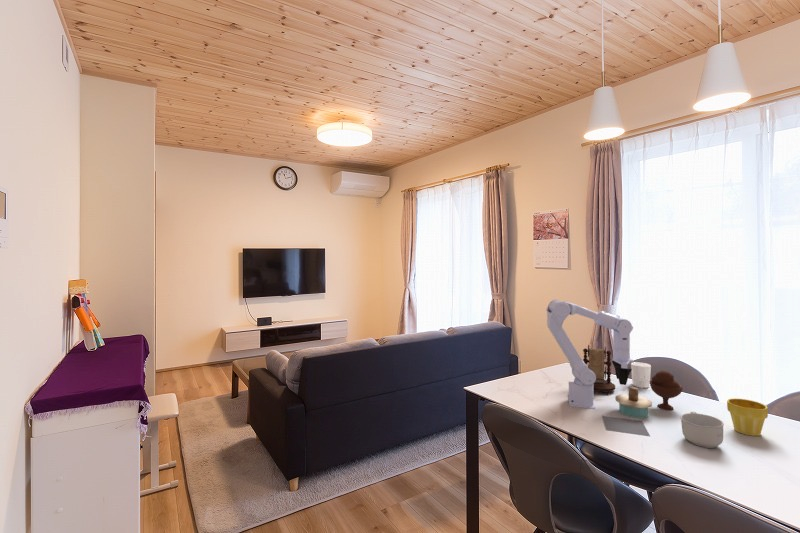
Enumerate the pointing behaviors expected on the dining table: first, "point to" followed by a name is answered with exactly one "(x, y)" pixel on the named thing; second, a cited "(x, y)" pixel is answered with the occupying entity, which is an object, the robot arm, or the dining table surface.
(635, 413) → the bowl
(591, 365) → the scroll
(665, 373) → the ice cream bowl
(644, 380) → the white cup
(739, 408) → the plant pot
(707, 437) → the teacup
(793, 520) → the dining table surface
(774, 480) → the dining table surface
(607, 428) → the mat
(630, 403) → the lid
